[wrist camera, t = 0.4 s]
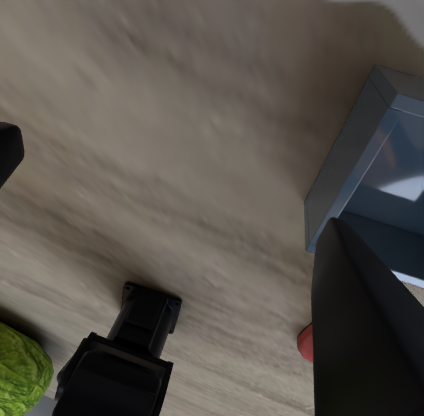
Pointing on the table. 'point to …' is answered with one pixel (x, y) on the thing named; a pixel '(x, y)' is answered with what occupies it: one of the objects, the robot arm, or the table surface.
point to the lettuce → (21, 372)
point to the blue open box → (378, 174)
